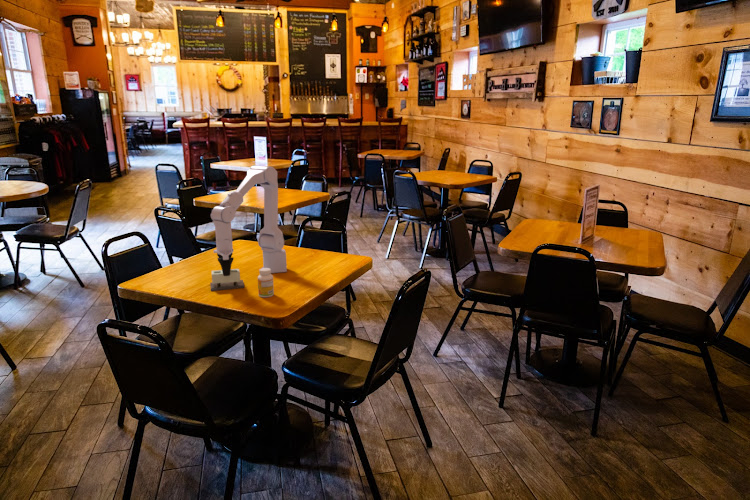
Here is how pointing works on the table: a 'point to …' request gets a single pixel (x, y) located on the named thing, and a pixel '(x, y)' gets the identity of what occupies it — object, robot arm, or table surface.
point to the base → (227, 285)
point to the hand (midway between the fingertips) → (226, 273)
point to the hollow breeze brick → (220, 278)
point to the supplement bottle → (265, 283)
